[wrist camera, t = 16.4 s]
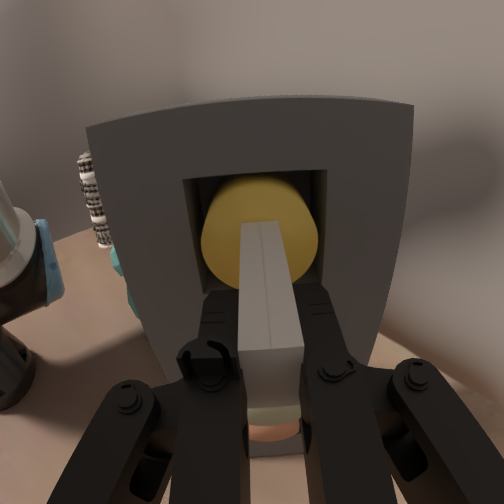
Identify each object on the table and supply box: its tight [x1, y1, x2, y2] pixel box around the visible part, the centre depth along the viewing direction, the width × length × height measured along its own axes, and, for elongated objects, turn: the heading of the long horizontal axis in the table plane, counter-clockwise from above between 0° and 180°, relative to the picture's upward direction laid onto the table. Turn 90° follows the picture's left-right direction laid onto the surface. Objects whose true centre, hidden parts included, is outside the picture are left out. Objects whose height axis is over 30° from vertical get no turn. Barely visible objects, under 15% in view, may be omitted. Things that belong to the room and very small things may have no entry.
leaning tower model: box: [77, 151, 113, 249], centre depth 69 cm, size 9×9×25 cm
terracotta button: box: [249, 419, 300, 442], centre depth 24 cm, size 4×5×5 cm
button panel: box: [86, 95, 414, 457], centre depth 21 cm, size 6×14×33 cm, turn 91°
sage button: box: [247, 401, 301, 426], centre depth 17 cm, size 4×5×5 cm
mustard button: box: [201, 171, 318, 289], centre depth 14 cm, size 4×5×5 cm
